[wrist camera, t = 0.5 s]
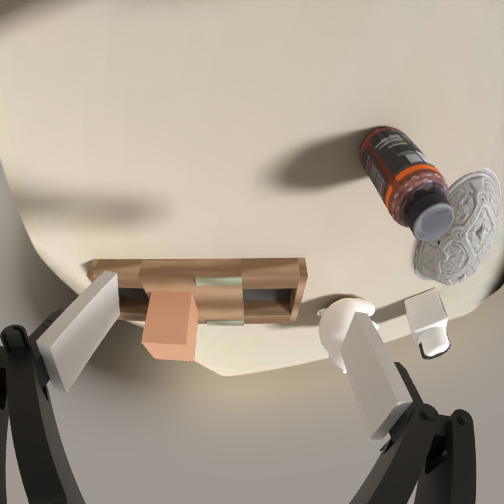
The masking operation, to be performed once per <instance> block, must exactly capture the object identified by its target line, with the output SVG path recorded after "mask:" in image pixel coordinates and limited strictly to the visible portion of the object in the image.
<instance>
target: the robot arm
mask: <svg viewBox="0 0 504 504" xmlns="http://www.w3.org/2000/svg"><path fill="white" fill-rule="evenodd" d="M119 315H120V309H119V296H118V279H117V273H115V272H110V271H106V270H105V271H104V272H103V273H102V274H101V275H100V276H99V277H98V278H97V279H96V280H95V281H94V282H93V283H92V284H91V285H90V286H89V287H88V288H87V289H86V290H85V291H84V292H83V293H82V294H81V295H80V296H79V297H78V298H77V299H76V300H75V301H74V302H73V303H72V304H71V305H70V306H69V307H68V308H67V309H66V310H63V309H59V310H57V311H55V312H53V313H52V314H51V315H50V316H49V317H48V318H47V319H46V320H45V321H44V322H43V323H42V325H40V326H39V327H38V328H37V329H36V330H35V331H34V332H33V333H32V334H31V335H30V336H29V337H28V336H27V333H26V330H25V328H24V327H23V326H20V325H11V326H8V327H6V328H5V329H4V330H3V331H2V332H1V335H0V338H1V340H2V343H3V346H4V347H3V346H0V504H7V498H6V474H5V473H6V472H5V466H6V465H5V463H6V440H7V428H8V418H9V417H10V425H11V431H12V437H13V443H14V448H15V453H16V458H17V462H18V466H19V471H20V474H21V478H22V482H23V485H24V489H25V492H26V495H27V498H28V502H29V504H86V503H85V501H84V499H83V497H82V495H81V493H80V490H79V488H78V486H77V483H76V481H75V478H74V476H73V473H72V471H71V468H70V465H69V463H68V460H67V457H66V454H65V451H64V448H63V445H62V442H61V439H60V436H59V432H58V428H57V425H56V421H55V417H54V413H53V409H52V405H51V401H50V396H49V391H48V388H47V386H46V384H47V383H48V381H49V380H50V381H51V383H52V385H53V387H54V388H55V389H57V390H59V391H62V392H64V393H66V394H67V393H68V391H69V390H70V388H71V386H72V384H73V383H74V382H75V380H76V378H77V377H78V375H79V374H80V372H81V371H82V369H83V368H84V366H85V364H86V363H87V361H88V360H89V359H90V357H91V355H92V354H93V352H94V351H95V350H96V348H97V346H98V345H99V344H100V342H101V341H102V339H103V338H104V336H105V335H106V334H107V332H108V331H109V329H110V328H111V326H112V325H113V323H114V322H115V321H116V319H117V318H118V317H119ZM340 352H341V355H342V358H343V361H344V364H345V367H346V371H347V374H348V377H349V380H350V383H351V386H352V389H353V392H354V396H355V398H356V402H357V405H358V408H359V411H360V415H361V418H362V422H363V425H364V429H365V432H366V436H367V439H368V441H369V440H380V439H383V438H384V437H385V436H386V434H387V433H388V432H389V434H390V436H391V438H390V440H389V441H388V442H387V443H386V444H385V445H384V446H383V447H382V448H381V449H380V451H382V450H383V451H382V453H381V455H380V456H379V458H378V460H377V462H376V463H375V465H374V467H373V469H372V470H371V472H370V473H369V475H368V477H367V478H366V480H365V481H364V483H363V485H362V486H361V487H360V489H359V490H358V492H357V493H356V495H355V496H354V498H353V499H352V501H351V502H350V504H407V502H408V500H409V498H410V496H411V494H412V492H413V490H414V487H415V485H416V483H417V481H418V484H417V490H416V496H415V501H414V504H475V501H476V452H475V438H474V426H473V420H472V417H471V416H470V414H469V413H468V412H466V411H464V410H461V409H457V410H455V411H454V412H453V413H452V415H451V416H445V415H439V414H438V412H437V410H436V409H435V408H433V407H432V406H431V405H428V404H424V403H423V401H422V399H421V397H420V395H419V394H418V392H417V389H416V387H415V385H414V384H413V382H412V380H411V378H410V376H409V374H408V372H407V370H406V369H405V368H404V367H403V366H402V365H401V364H400V363H399V362H393V360H392V358H391V356H390V354H389V352H388V351H387V349H386V347H385V345H384V343H383V341H382V339H381V337H380V335H379V333H378V332H377V330H376V328H375V326H374V324H373V323H372V321H371V319H370V317H369V315H368V314H367V313H362V312H355V314H354V316H353V319H352V321H351V324H350V326H349V329H348V331H347V334H346V336H345V338H344V341H343V343H342V345H341V348H340Z"/></svg>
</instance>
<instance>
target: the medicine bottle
mask: <svg viewBox="0 0 504 504" xmlns="http://www.w3.org/2000/svg"><path fill="white" fill-rule="evenodd" d="M404 303H405V309H406V316H407V319H408V322H409V326H410V329H411V333H412V336H413V340H414V342H415V343H417V342H418V343H419V347H420V351H421V355H422V358H424V359H433V358H436V357H438V356H441V355H442V354H444V353H445V352H447V350H448V349H449V348H450V346H451V345H450V341H449V338H448V335H447V332H446V325H447V320H448V317H447V314H446V312H445V309H444V306H443V303H442V301H441V298H440V296H439V293H438V291H437V288H433V289H431V290H428V291H426V292H423V293H421V294H418V295H416V296H413V297H411V298H408V299H406V300H405V301H404Z"/></svg>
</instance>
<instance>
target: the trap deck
mask: <svg viewBox="0 0 504 504" xmlns="http://www.w3.org/2000/svg"><path fill="white" fill-rule="evenodd" d="M105 270H106V271H110V272H115V273H117V279H118V296H119V309H120V315H119V317H118V318H117V319H118V320H131V321H146V316H147V311H148V306H149V301H150V296H151V292H152V291H156V292H192V294H193V297H194V301H195V304H196V307H197V310H198V324H207V325H244V324H267V323H295V322H296V319H297V315H298V311H299V308H300V304H301V300H302V296H303V293H304V289H305V285H306V281H307V277H308V274H307V268H306V262H305V258H271V259H149V260H93V261H92V263H91V266H90V269H89V271H88V274H87V277H88V278H89V280H90V281H91V283H93V282H94V281H95V280H96V279H97V278H98V277H99V276H100V275H101V274H102V273H103V272H104V271H105ZM243 292H244V298H243Z"/></svg>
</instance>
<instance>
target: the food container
mask: <svg viewBox="0 0 504 504" xmlns="http://www.w3.org/2000/svg"><path fill="white" fill-rule="evenodd" d="M500 189H501V188H500V183H499V179H497V175H495V173H494V172H492V171H491V170H490V169H488V168H485V167H484V168H482V169H481V170H479V171H477V172H476V173H475V172H474V173H472V174H468V175H464V176H462V177H460V179H459V180H457V181H456V182H455V183H454V184H453V185H452V186H451V187H450V188H449V189H448V202H449V203H450V205H451V206H452V208H453V210H454V220H453V223H452V225H451V226H450V228H449V229H448V230H447V231H446V232H445V233H444V234H443V235H441V236H440V237H438V238H436V239H434V240H430V241H421V243H420V245H419V247H418V248H417V249H416V257H415V264H416V269H415V273H416V275H417V276H418V277H419V278H422V280H435V281H437V282H441V283H442V284H446V285H454V284H456V283H459V282H461V281H463V280H465V279H466V278H467V277H469V276H470V275H472V274H473V273H474V272H476V271H477V269H478V267H479V266H480V265H481V263H482V260H483V258H484V257H485V255H486V253H487V251H488V250H489V249H490V248H491V245H492V243H493V239H494V235H495V232H496V229H497V224H498V217H499V202H498V201H499V198H500ZM438 240H439V241H440V244H439V245H438ZM433 245H434V246H433ZM442 255H443V257H442Z"/></svg>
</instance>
